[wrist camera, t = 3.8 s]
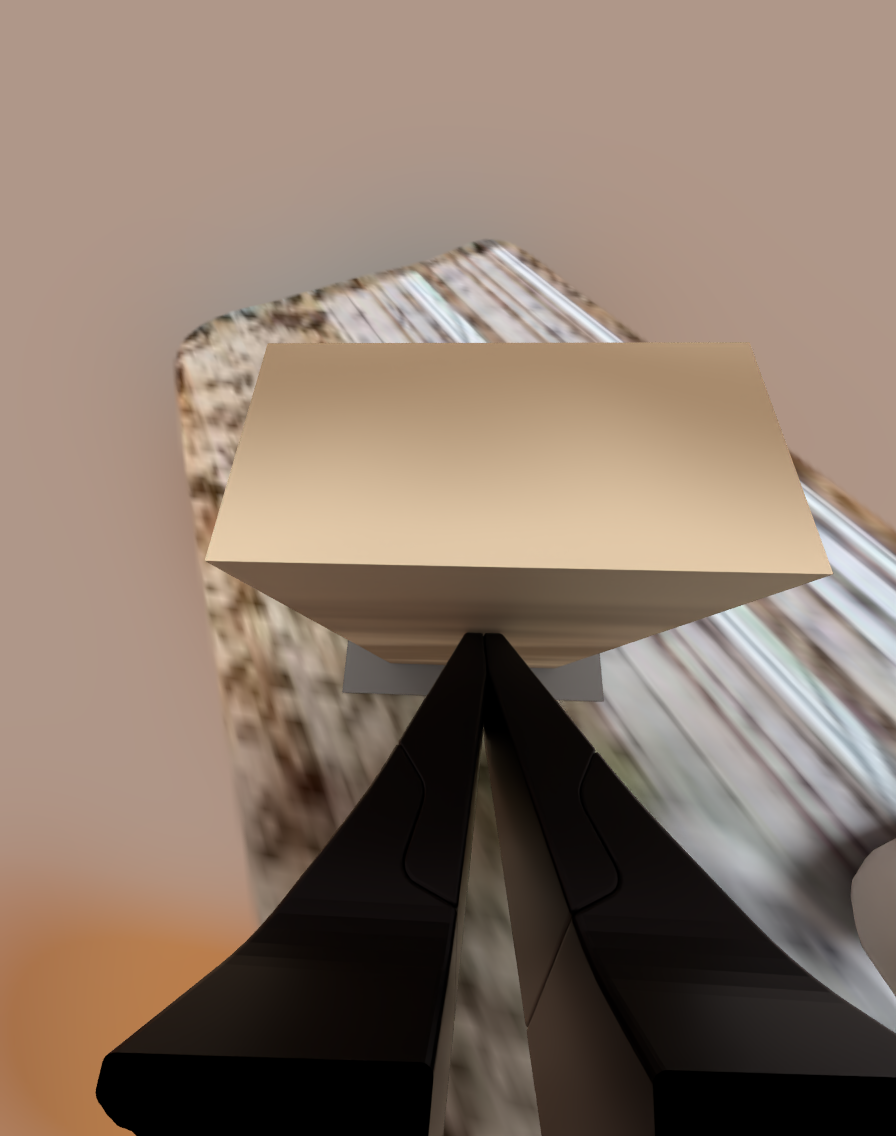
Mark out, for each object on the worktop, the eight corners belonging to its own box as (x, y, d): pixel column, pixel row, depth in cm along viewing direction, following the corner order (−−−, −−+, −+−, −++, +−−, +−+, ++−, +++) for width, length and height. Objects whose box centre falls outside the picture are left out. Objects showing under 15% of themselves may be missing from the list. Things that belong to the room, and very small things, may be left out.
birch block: (554, 668, 15) (833, 574, 4) (390, 663, 15) (205, 561, 4) (549, 589, 16) (749, 341, 5) (397, 585, 17) (267, 343, 5)
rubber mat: (601, 701, 15) (603, 701, 15) (343, 692, 15) (342, 692, 15) (574, 392, 20) (575, 389, 20) (377, 392, 20) (376, 389, 20)
